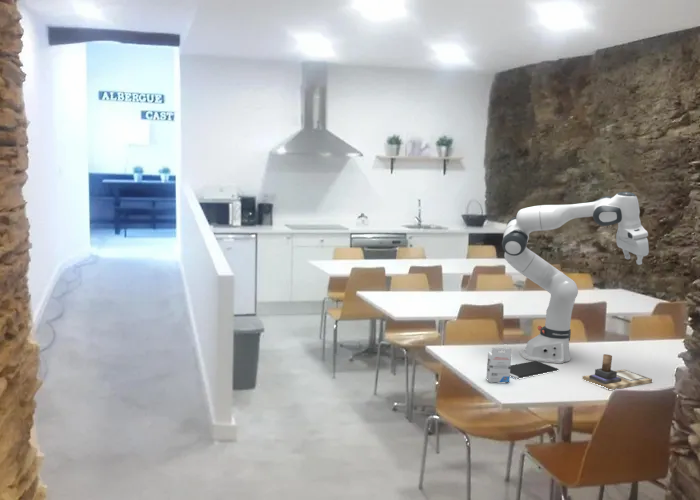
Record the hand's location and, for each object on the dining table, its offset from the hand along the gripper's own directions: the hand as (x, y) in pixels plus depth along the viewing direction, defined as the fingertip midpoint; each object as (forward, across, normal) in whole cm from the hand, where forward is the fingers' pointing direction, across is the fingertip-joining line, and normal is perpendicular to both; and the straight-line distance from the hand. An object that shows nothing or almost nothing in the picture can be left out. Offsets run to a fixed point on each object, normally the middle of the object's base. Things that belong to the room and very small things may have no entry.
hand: (633, 261), depth 293 cm
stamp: (+42, +13, -24) cm, 50 cm away
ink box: (+33, +11, -69) cm, 77 cm away
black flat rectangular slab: (+39, -2, -52) cm, 65 cm away
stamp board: (+46, +10, -18) cm, 51 cm away
